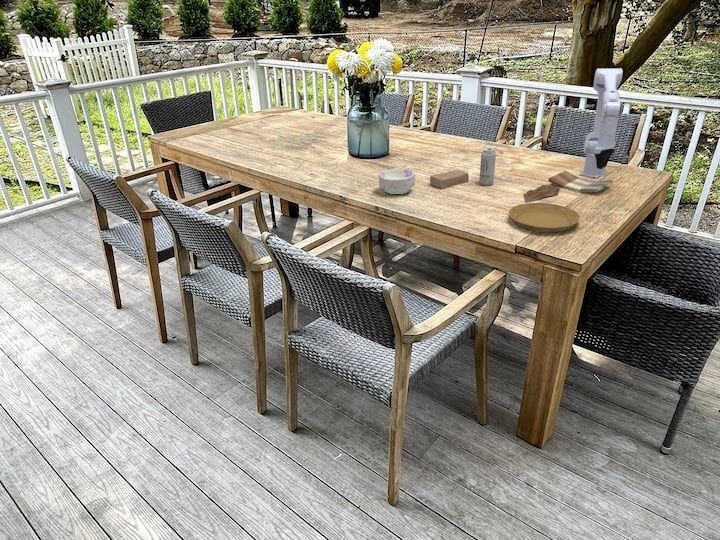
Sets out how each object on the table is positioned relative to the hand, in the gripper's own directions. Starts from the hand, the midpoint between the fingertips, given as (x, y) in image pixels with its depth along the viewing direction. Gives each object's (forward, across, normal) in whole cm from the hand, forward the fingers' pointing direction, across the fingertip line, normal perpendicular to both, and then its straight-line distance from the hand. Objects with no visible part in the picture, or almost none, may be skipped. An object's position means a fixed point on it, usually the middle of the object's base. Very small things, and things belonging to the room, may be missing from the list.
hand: (601, 167), depth 206 cm
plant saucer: (+10, +44, 0) cm, 45 cm away
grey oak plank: (+8, 0, 0) cm, 8 cm away
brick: (+10, +30, -52) cm, 61 cm away
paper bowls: (+10, +54, -62) cm, 82 cm away
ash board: (+9, 0, -8) cm, 12 cm away
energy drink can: (+10, +22, -39) cm, 45 cm away
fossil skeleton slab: (+10, +18, -15) cm, 25 cm away
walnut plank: (+8, 0, -15) cm, 17 cm away
